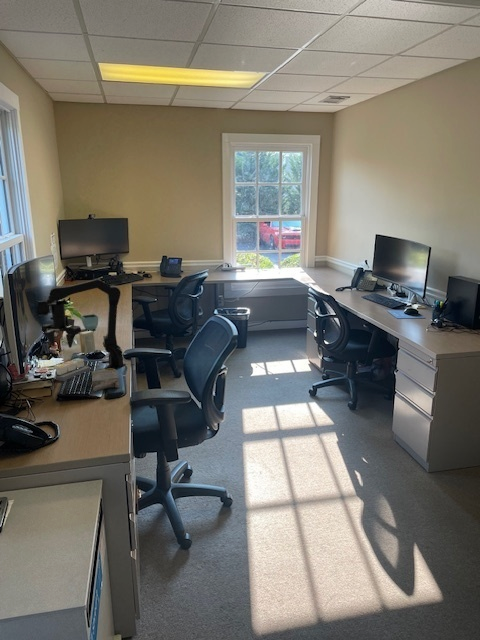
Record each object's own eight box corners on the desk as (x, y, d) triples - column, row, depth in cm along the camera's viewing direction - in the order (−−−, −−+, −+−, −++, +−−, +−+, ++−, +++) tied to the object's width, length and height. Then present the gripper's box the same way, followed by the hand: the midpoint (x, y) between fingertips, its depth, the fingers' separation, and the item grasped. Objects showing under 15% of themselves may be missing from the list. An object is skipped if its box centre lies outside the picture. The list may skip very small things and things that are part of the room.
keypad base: (90, 370, 220) (90, 366, 220) (63, 381, 207) (62, 377, 206) (76, 367, 225) (75, 363, 225) (48, 378, 211) (47, 373, 211)
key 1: (84, 366, 220) (83, 358, 219) (77, 368, 217) (76, 361, 216) (78, 364, 222) (77, 357, 221) (71, 367, 219) (70, 359, 218)
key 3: (67, 372, 212) (66, 364, 211) (60, 375, 208) (59, 367, 208) (61, 370, 214) (60, 363, 213) (54, 373, 210) (53, 366, 210)
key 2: (75, 369, 216) (75, 361, 215) (69, 371, 213) (68, 364, 212) (69, 367, 218) (69, 360, 217) (63, 370, 215) (62, 362, 214)
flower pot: (99, 329, 298) (98, 316, 296) (85, 331, 293) (84, 318, 291) (95, 327, 305) (94, 313, 303) (82, 329, 300) (80, 315, 298)
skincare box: (91, 351, 251) (89, 330, 248) (96, 353, 248) (94, 331, 245) (80, 354, 246) (78, 332, 243) (85, 356, 243) (83, 333, 240)
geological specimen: (92, 381, 193) (90, 368, 206) (94, 394, 195) (92, 381, 208) (118, 377, 196) (115, 365, 210) (120, 390, 198) (116, 377, 212)
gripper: (86, 311, 217) (89, 343, 220) (53, 309, 222) (56, 340, 226) (71, 316, 207) (74, 350, 210) (37, 314, 212) (40, 347, 215)
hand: (61, 346), depth 216 cm, fingers open, 9 cm apart
